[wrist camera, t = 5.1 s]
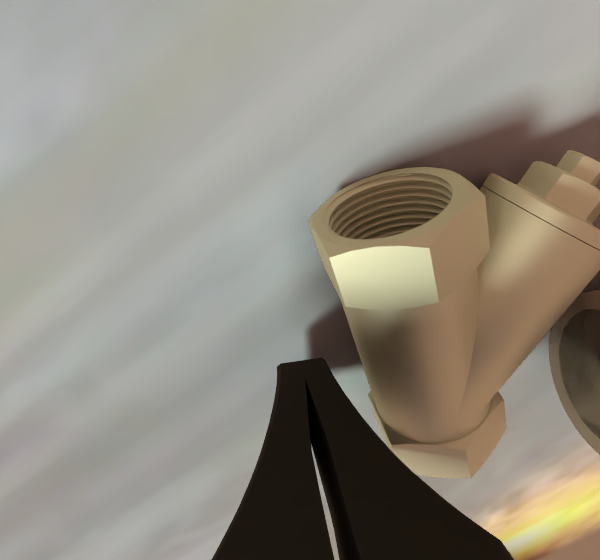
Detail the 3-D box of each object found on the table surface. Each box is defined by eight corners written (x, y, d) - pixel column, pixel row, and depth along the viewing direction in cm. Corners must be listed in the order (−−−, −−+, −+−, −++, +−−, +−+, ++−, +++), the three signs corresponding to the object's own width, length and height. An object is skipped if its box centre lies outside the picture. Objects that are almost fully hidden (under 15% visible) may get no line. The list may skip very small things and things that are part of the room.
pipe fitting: (543, 103, 11) (297, 200, 11) (686, 138, 8) (341, 276, 8) (545, 330, 16) (367, 401, 16) (639, 413, 12) (414, 504, 12)
